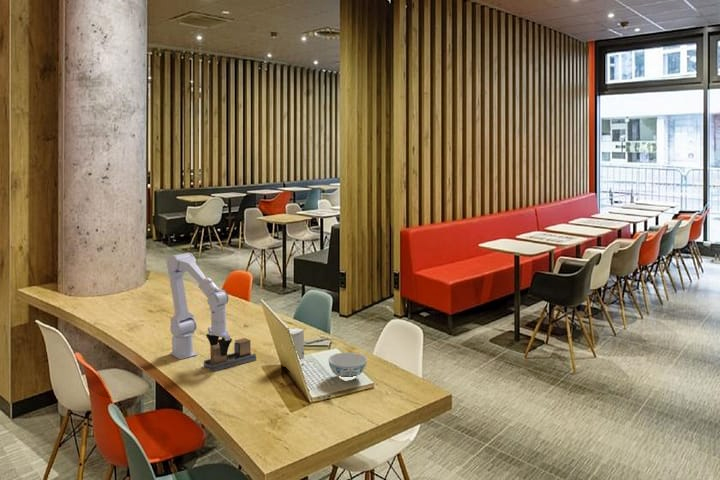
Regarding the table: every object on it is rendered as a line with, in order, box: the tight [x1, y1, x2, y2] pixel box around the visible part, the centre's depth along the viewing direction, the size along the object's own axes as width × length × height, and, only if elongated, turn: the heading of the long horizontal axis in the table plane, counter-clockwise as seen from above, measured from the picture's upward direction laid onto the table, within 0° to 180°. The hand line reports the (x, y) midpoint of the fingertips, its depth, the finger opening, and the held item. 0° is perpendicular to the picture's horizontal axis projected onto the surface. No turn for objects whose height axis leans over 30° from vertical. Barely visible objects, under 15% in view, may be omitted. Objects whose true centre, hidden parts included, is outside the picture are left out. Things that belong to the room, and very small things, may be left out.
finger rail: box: [203, 337, 257, 373], centre depth 241 cm, size 8×20×8 cm, turn 133°
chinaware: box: [327, 352, 368, 377], centre depth 227 cm, size 15×15×8 cm
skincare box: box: [288, 327, 305, 360], centre depth 239 cm, size 8×6×15 cm
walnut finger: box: [209, 343, 228, 364], centre depth 238 cm, size 4×6×7 cm
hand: (219, 353), depth 238 cm, fingers open, 7 cm apart
